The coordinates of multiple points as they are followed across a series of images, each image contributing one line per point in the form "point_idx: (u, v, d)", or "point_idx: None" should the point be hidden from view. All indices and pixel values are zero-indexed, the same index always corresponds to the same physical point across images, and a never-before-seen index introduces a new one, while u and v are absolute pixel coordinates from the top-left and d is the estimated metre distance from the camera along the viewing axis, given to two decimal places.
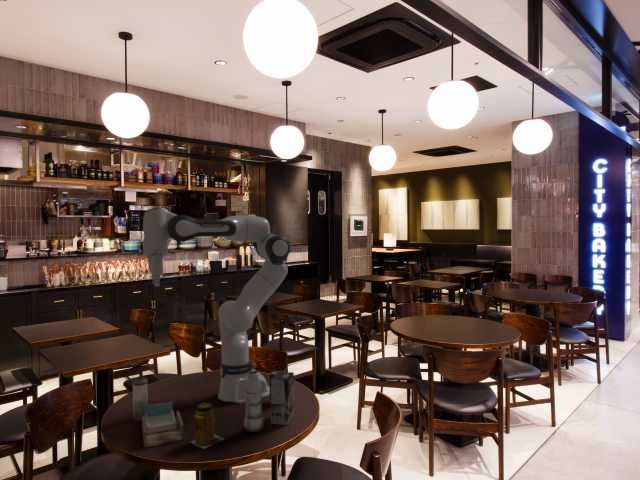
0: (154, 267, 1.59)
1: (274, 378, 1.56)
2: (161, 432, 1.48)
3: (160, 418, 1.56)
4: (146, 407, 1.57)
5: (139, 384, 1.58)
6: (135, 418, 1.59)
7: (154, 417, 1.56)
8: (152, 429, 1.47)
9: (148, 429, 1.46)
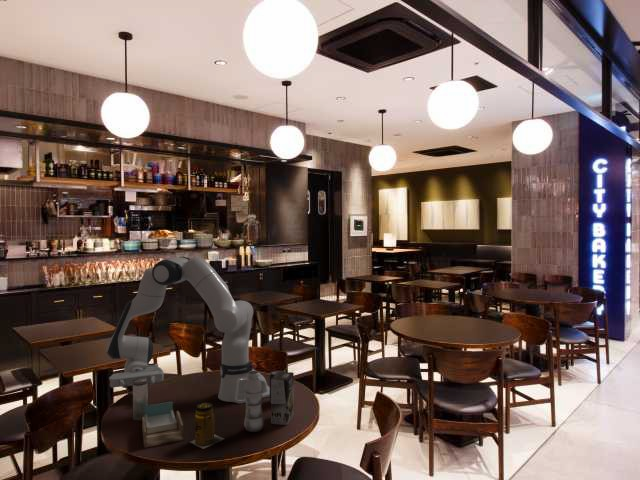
0: None
1: (274, 378, 1.56)
2: (161, 432, 1.48)
3: (160, 418, 1.56)
4: (146, 407, 1.57)
5: (139, 384, 1.58)
6: (135, 418, 1.59)
7: (154, 417, 1.56)
8: (152, 429, 1.47)
9: (148, 429, 1.46)
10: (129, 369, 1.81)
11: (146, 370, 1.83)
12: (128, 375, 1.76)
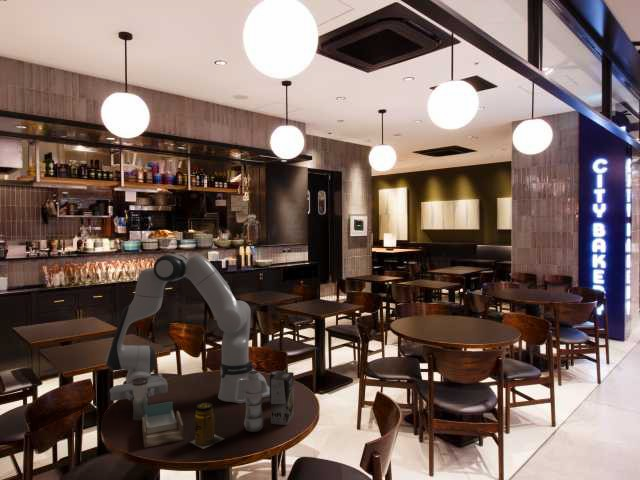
0: None
1: (274, 378, 1.56)
2: (161, 432, 1.48)
3: (160, 418, 1.56)
4: (146, 407, 1.57)
5: (139, 384, 1.58)
6: (135, 418, 1.59)
7: (154, 417, 1.56)
8: (152, 429, 1.47)
9: (148, 429, 1.46)
10: (131, 380, 1.70)
11: (149, 381, 1.71)
12: (130, 387, 1.65)
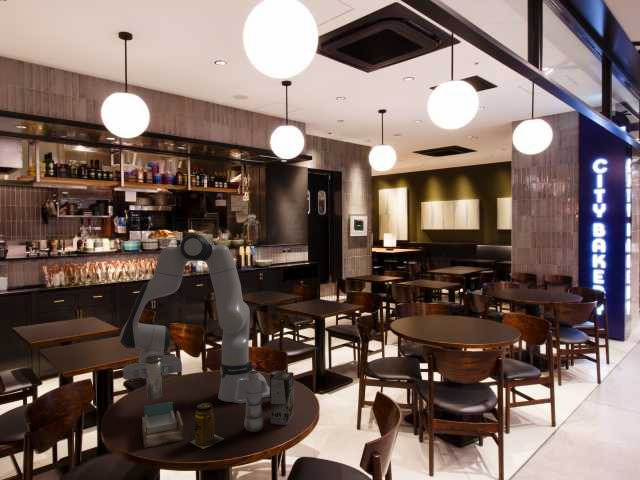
0: None
1: (274, 378, 1.56)
2: (161, 432, 1.48)
3: (160, 418, 1.56)
4: (146, 407, 1.57)
5: (153, 362, 1.53)
6: (149, 397, 1.54)
7: (154, 417, 1.56)
8: (152, 429, 1.47)
9: (148, 429, 1.46)
10: (144, 359, 1.65)
11: (162, 360, 1.66)
12: (143, 366, 1.60)
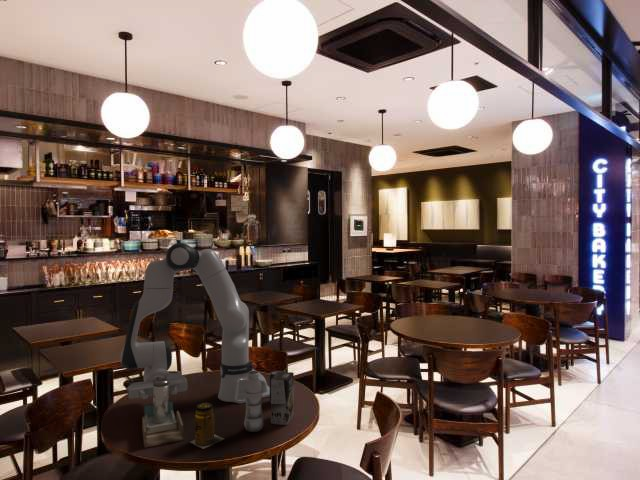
0: None
1: (274, 378, 1.56)
2: (161, 432, 1.48)
3: None
4: (146, 407, 1.57)
5: (160, 385, 1.51)
6: (155, 421, 1.51)
7: None
8: (152, 429, 1.47)
9: (148, 429, 1.46)
10: (149, 378, 1.62)
11: (168, 378, 1.64)
12: (148, 385, 1.57)
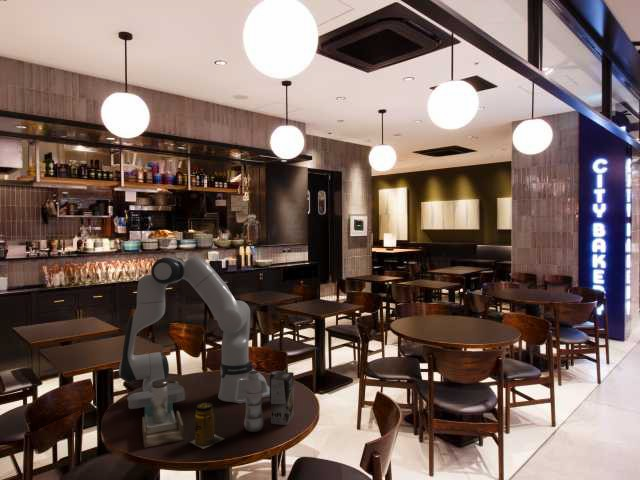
0: None
1: (274, 378, 1.56)
2: (161, 432, 1.48)
3: None
4: (146, 407, 1.57)
5: (159, 386, 1.51)
6: (155, 422, 1.51)
7: None
8: (152, 429, 1.47)
9: (148, 429, 1.46)
10: (148, 388, 1.69)
11: None
12: (147, 395, 1.64)
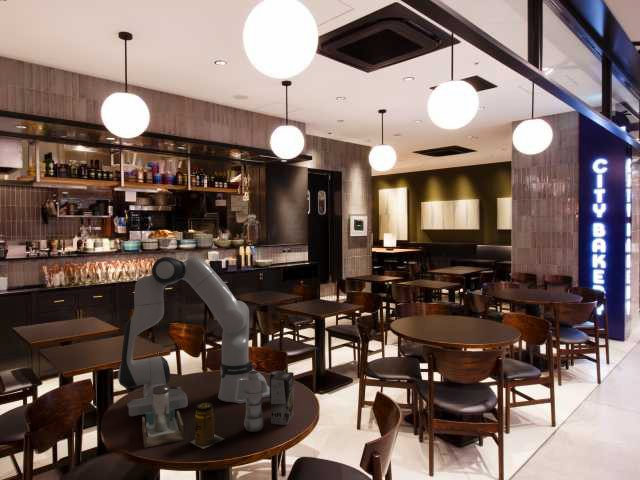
0: None
1: (274, 378, 1.56)
2: None
3: None
4: (147, 414, 1.50)
5: (160, 393, 1.44)
6: (156, 430, 1.45)
7: None
8: None
9: None
10: (149, 394, 1.63)
11: None
12: (149, 401, 1.58)
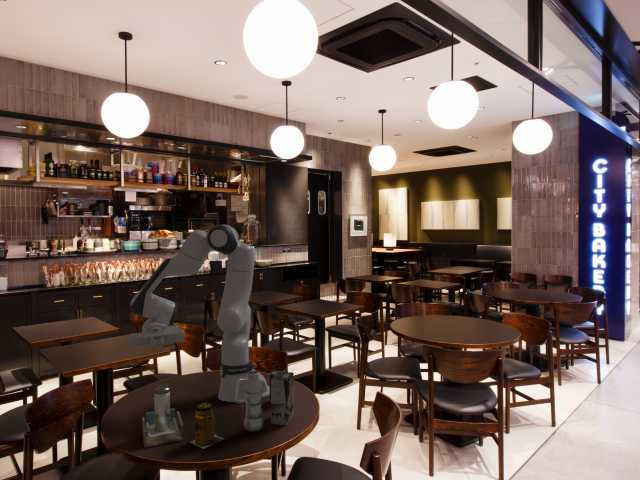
0: None
1: (274, 378, 1.56)
2: None
3: None
4: (147, 414, 1.50)
5: (161, 393, 1.45)
6: (156, 430, 1.45)
7: None
8: None
9: None
10: (147, 329, 1.69)
11: (165, 330, 1.70)
12: (147, 334, 1.64)
